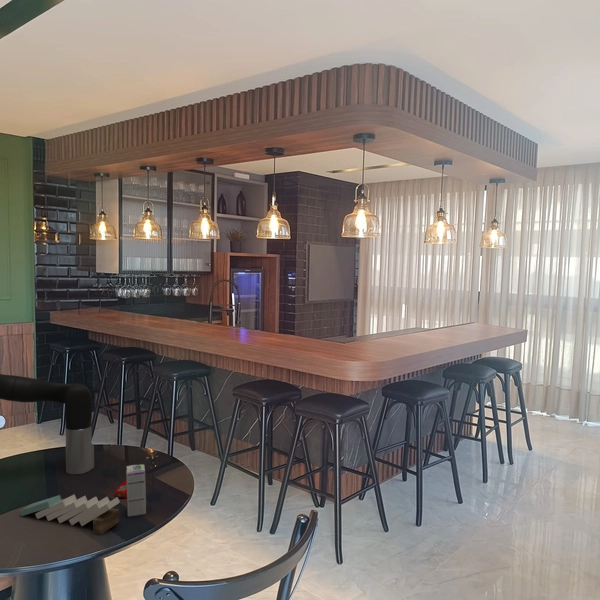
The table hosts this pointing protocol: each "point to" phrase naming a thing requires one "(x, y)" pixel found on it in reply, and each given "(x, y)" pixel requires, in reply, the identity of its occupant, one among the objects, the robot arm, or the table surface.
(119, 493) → the race car
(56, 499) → the domino
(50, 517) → the domino
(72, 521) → the domino
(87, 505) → the domino
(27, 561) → the table surface
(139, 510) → the syrup box
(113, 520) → the end stop
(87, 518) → the domino
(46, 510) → the domino
